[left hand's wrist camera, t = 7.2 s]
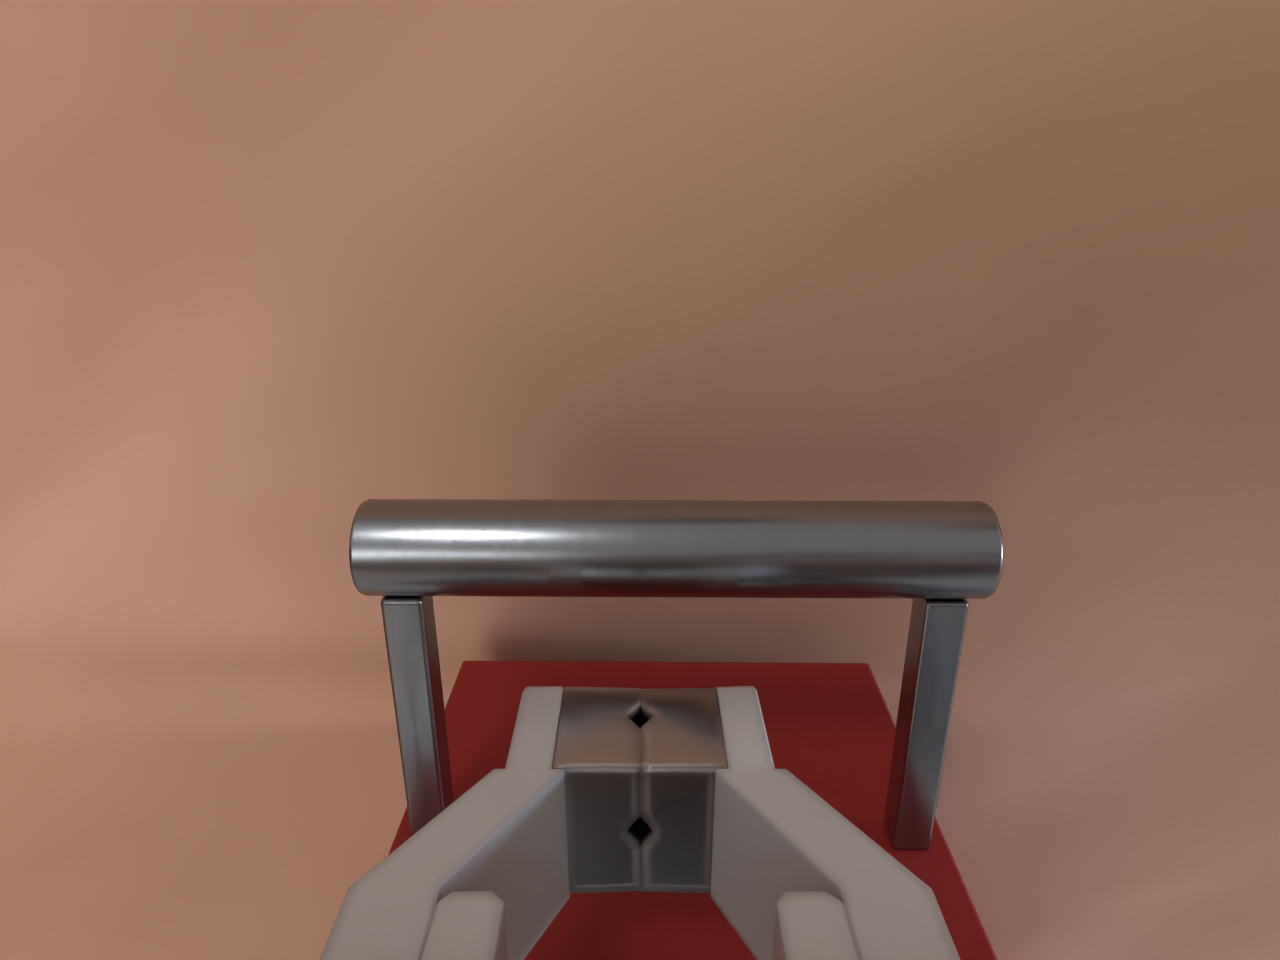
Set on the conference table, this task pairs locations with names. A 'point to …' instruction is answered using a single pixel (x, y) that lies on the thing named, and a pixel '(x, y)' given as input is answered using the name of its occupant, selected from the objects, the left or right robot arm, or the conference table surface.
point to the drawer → (691, 665)
